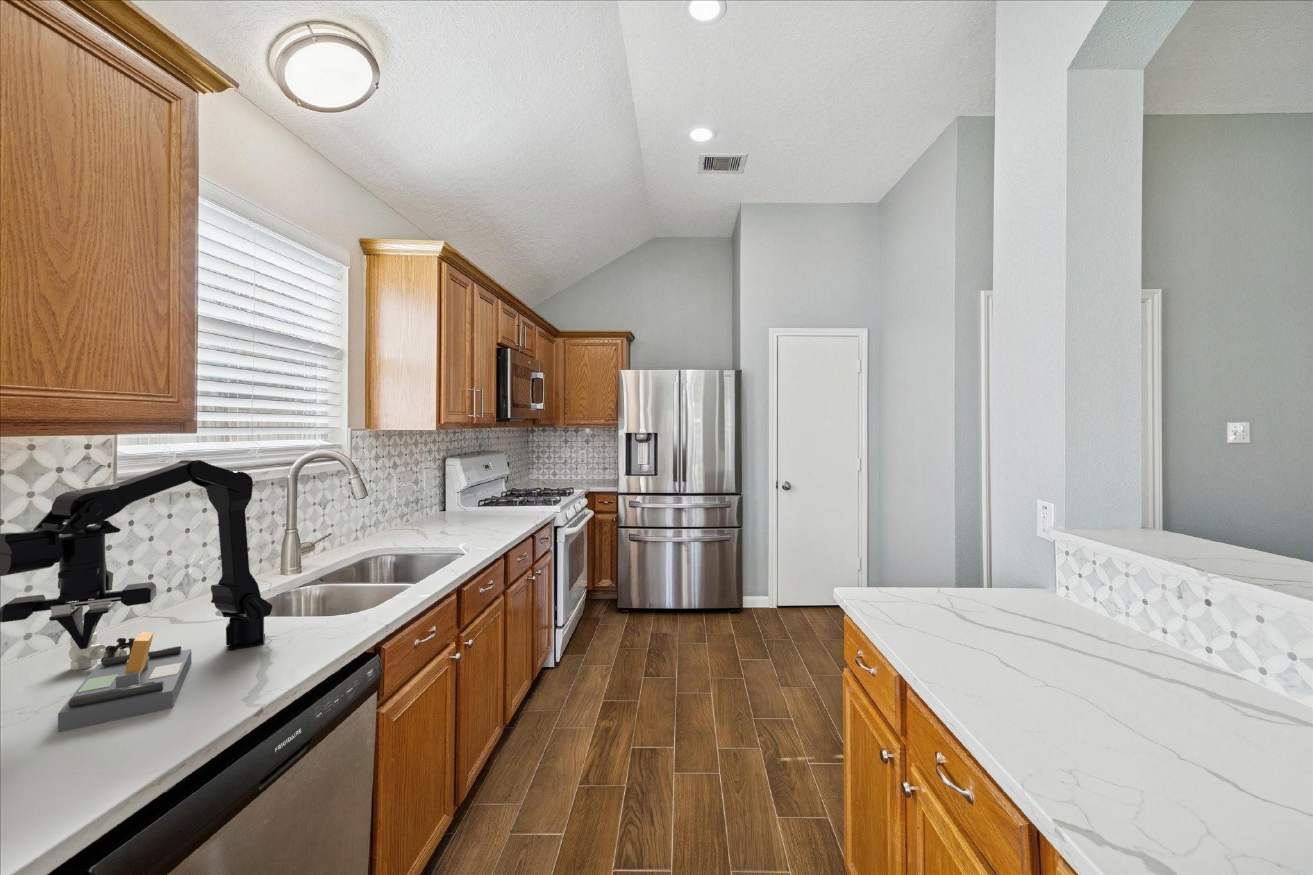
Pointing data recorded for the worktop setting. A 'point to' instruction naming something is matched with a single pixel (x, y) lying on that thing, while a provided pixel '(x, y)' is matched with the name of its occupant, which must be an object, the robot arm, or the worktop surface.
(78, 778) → the worktop surface
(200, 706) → the worktop surface
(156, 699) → the panel
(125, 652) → the valve
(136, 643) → the lever
